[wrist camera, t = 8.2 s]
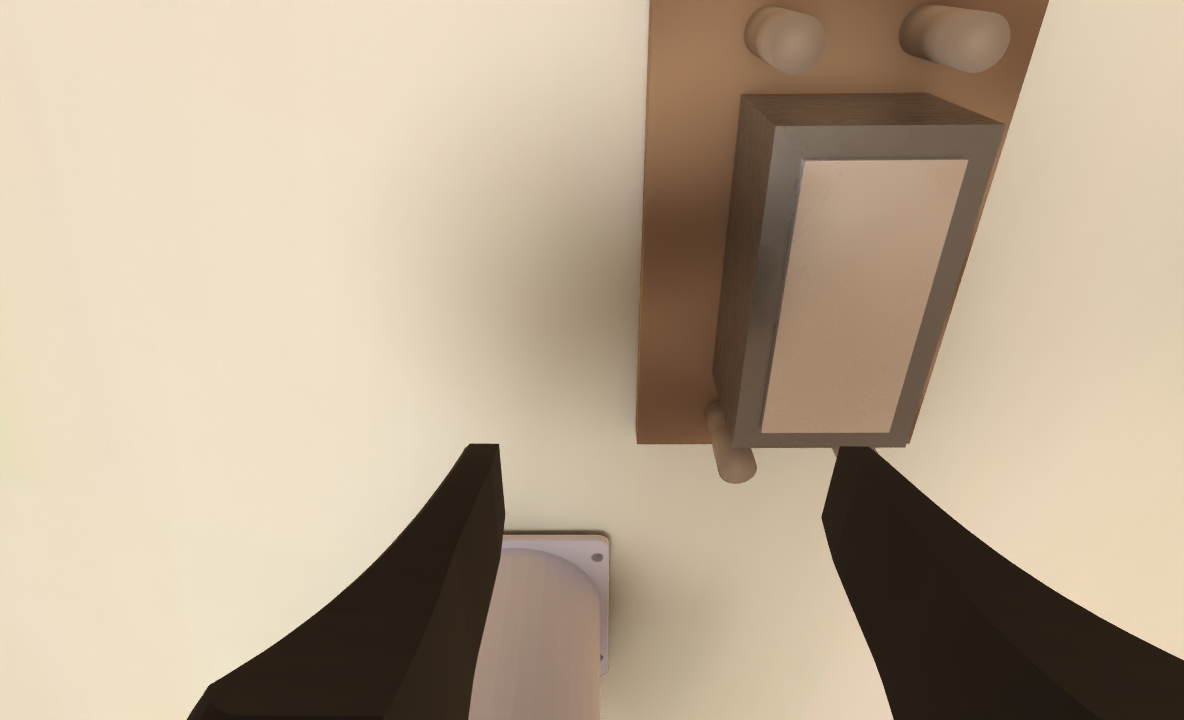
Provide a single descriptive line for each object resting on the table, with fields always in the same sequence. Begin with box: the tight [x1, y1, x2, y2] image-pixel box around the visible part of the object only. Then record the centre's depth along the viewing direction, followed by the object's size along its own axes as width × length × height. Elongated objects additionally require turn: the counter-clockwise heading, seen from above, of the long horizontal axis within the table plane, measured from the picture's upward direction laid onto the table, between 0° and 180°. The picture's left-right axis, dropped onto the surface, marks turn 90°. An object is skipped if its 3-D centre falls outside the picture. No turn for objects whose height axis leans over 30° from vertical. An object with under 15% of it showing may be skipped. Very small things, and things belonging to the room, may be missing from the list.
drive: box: [712, 93, 1006, 448], centre depth 18 cm, size 9×5×4 cm, turn 1°
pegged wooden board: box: [636, 0, 1049, 484], centre depth 19 cm, size 15×10×4 cm, turn 1°
